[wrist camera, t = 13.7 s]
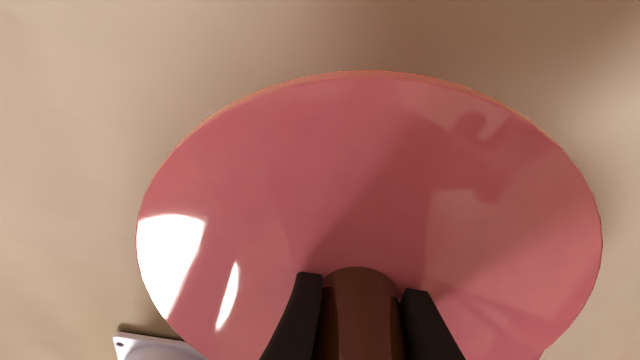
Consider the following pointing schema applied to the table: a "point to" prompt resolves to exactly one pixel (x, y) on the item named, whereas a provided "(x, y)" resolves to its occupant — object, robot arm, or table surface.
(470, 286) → the lid
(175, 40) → the table surface
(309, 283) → the robot arm
